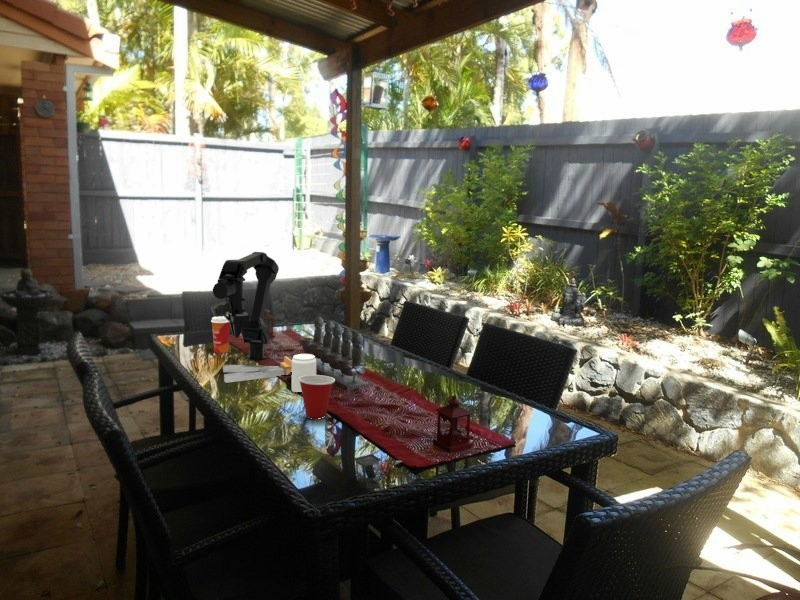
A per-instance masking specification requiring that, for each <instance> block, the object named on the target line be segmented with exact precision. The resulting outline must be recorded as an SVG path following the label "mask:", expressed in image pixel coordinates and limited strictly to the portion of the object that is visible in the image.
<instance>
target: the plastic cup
mask: <svg viewBox="0 0 800 600" xmlns="http://www.w3.org/2000/svg"><path fill="white" fill-rule="evenodd" d="M299 381H300V385H301V389H302V394H301V395H302V400H303V406H304V411H305V415H306V418H307V417H309V418H312V419H318V418H322V417H324V416H326V417H327V412H328V407H329V404H330V403H329V402H330V398H331V393H332V389H333V385H334V383H335V382H336V379H335V378H334V377H332V376H329V375H323V374H321V375H320V374H316V375H305V376H301V377H299ZM312 419H311V420H312Z"/></svg>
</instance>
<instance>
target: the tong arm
mask: <svg viewBox="0 0 800 600" xmlns="http://www.w3.org/2000/svg"><path fill="white" fill-rule="evenodd" d="M276 368H280V365H279V366H278V365H275V366H274V365H255V364H254V365H252V364H251V365H249V364H248V365H247V364H223V366H222V370H223V371H222V372H223V373H240V372H249V371H258V370H267V369H276Z"/></svg>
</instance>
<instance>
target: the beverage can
mask: <svg viewBox="0 0 800 600" xmlns="http://www.w3.org/2000/svg"><path fill="white" fill-rule="evenodd" d="M291 360H292V375H291V391H292V392H293V393H295V392H302V389H301V385H300V381H299V377H301V376H305V375H317V359H316V356H315V355H314V354H311V353H299V354H294V355H293V357H292V359H291Z"/></svg>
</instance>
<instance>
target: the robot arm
mask: <svg viewBox="0 0 800 600" xmlns="http://www.w3.org/2000/svg"><path fill="white" fill-rule="evenodd" d="M251 268H253V269H254V270H255V276H256V279H257V285H256V291H255V293H254V299H253V304H252V308H251V313H250V314H249V313H247V312H246V308H244V302H245V298H246V297H244V282H245V281H246V278H245V277H244V276H245V275H246V274H247V273H248V270H249V269H251ZM279 268H280V267H279V265H278V263H277V262H276V260H275V259H273V258H271V257H270V256H268V255H267V253H266V252H264V251H262V252H261V251H253V252H252V253H250V254H248V255H246V256H243V257H242V258H239V259H238V258H237V259H226V260H225V261H224V262H223V264H222V267H221V270H220V274H219V276H218V279H217V283H215V284H214V285H213V288H212V293H213V296H214V297H215V298H216V299H218V300H223V299H224V301H222V302H218V303H217V304H214V305H212V306H210V309H211V312H212V314H213V316H214V317H218V316H221V315H223V316H224V317H225V318H226V319H227V320H228V321H229V323H230V329H231V330H230V331H231V333H232V336H233V337H235V338H236V339H237V338H239V337H240V336H241V335H242V340H243V343H244V344H245V343H246V344H248V354H246V356H245V357H246V358H247V359H249V360H250V361H256V360H265V359H266V360H267V358H268V357H267V356H266V355H265V345H268V344H269V342H270V336H269V334H268V332H267V331H266V328H267V325H266V324H265V321H264V317H265V311H266V307H267V302H268V298H269V292H270V288H271V284H273V283H274V282H275V280H276V279H277V276H278V273H279V270H280V269H279Z"/></svg>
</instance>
